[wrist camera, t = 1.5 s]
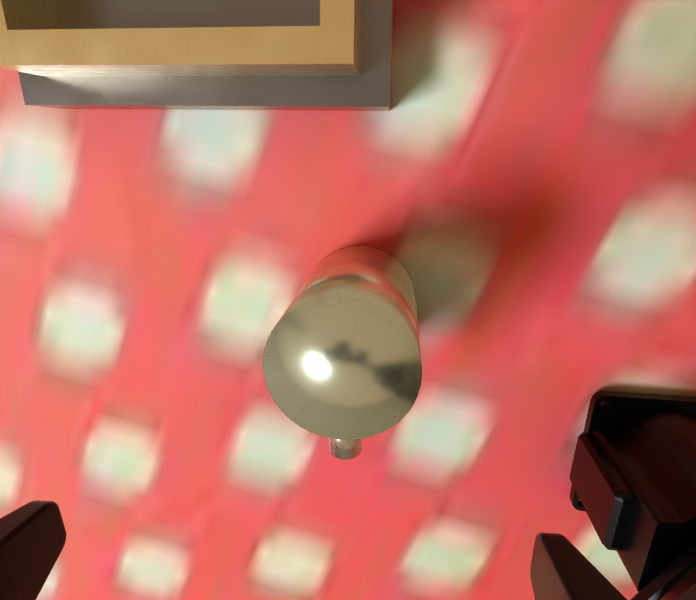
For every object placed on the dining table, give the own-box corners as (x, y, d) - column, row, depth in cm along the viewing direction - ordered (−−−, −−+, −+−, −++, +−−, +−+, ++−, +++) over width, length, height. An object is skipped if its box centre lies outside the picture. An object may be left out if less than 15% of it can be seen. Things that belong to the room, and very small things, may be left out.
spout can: (418, 247, 20) (427, 300, 13) (410, 380, 22) (413, 483, 15) (305, 243, 20) (258, 292, 14) (308, 373, 22) (268, 470, 16)
